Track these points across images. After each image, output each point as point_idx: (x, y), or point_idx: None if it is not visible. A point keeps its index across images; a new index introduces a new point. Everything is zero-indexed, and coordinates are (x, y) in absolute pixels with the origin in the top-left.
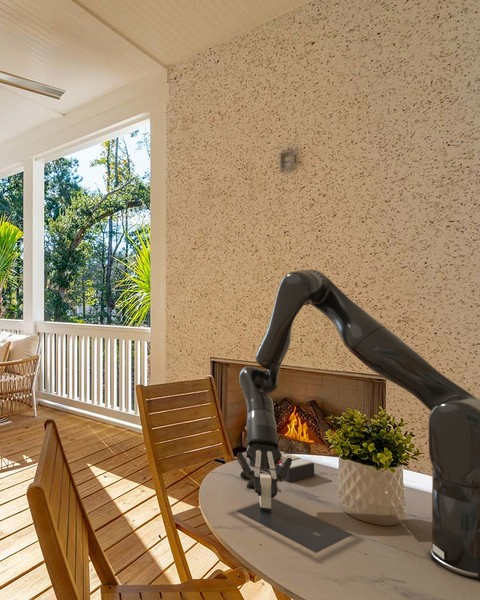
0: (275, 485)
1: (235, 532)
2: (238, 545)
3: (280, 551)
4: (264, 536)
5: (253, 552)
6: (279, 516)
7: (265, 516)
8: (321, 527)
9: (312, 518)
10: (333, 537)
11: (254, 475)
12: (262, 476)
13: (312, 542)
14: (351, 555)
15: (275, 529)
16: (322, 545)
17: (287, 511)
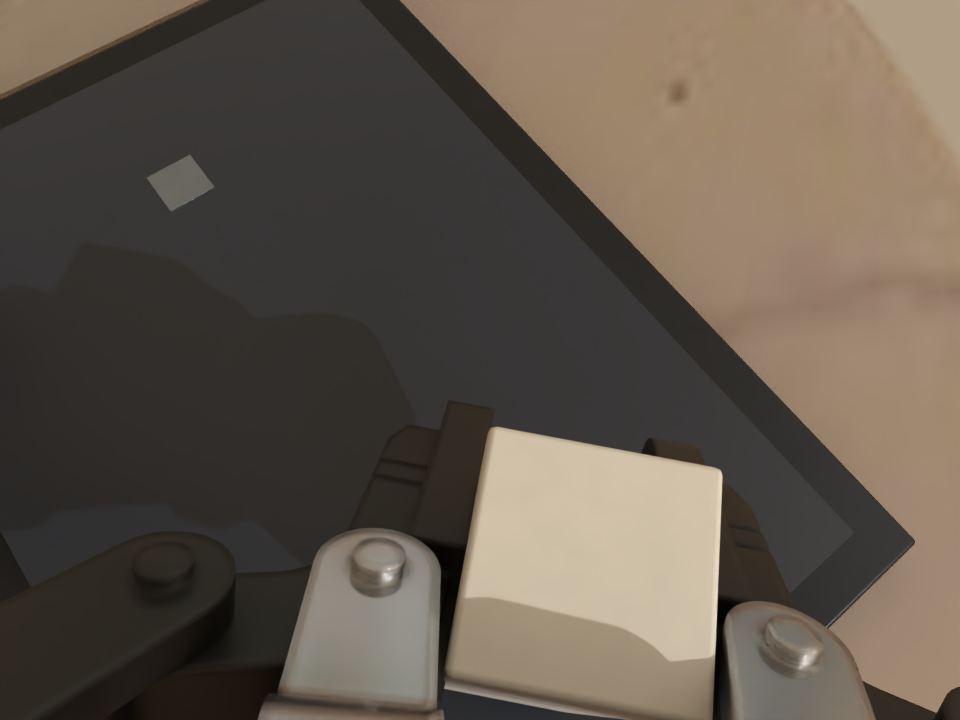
0: (391, 499)
1: (850, 222)
2: (834, 70)
3: (555, 33)
4: (624, 191)
5: (741, 11)
6: None
7: None
8: (58, 297)
9: (36, 468)
10: (58, 151)
11: (836, 663)
12: (679, 506)
13: (288, 74)
14: (60, 30)
15: (525, 219)
16: (229, 46)
17: None
